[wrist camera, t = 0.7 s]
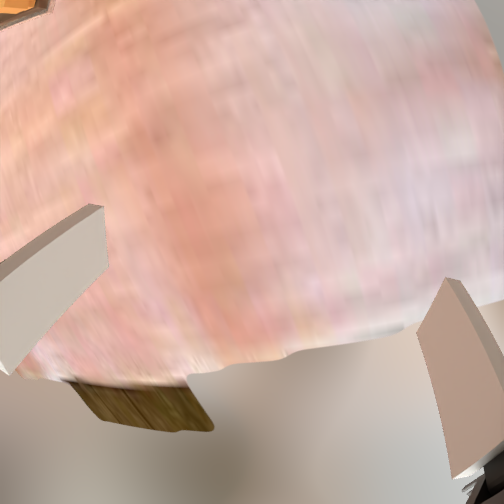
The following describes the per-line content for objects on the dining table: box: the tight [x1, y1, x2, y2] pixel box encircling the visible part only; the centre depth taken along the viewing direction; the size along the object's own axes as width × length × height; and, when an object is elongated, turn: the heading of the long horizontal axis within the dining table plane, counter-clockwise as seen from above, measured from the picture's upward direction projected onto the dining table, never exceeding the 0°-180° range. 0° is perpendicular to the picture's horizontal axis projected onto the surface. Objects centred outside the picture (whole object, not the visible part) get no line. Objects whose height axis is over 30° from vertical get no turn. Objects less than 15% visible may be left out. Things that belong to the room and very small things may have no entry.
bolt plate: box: [0, 0, 56, 32], centre depth 24 cm, size 10×21×3 cm, turn 80°
